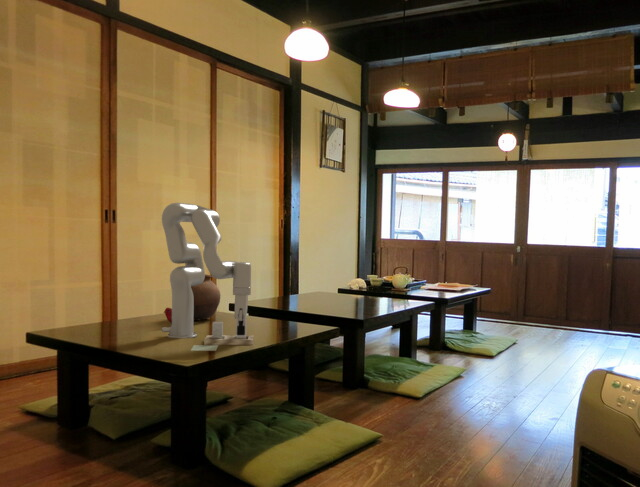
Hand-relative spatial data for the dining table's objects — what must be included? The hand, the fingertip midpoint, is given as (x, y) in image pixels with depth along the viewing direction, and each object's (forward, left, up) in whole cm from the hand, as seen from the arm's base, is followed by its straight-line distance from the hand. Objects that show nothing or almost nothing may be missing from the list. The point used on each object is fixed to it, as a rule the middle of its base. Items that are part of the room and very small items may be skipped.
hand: (241, 333), depth 231 cm
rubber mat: (-14, -11, -4) cm, 18 cm away
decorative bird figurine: (-33, +41, -4) cm, 53 cm away
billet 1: (-10, 0, -4) cm, 11 cm away
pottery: (-26, +61, -4) cm, 66 cm away
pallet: (-5, 0, -4) cm, 7 cm away
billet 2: (0, 0, -2) cm, 2 cm away
